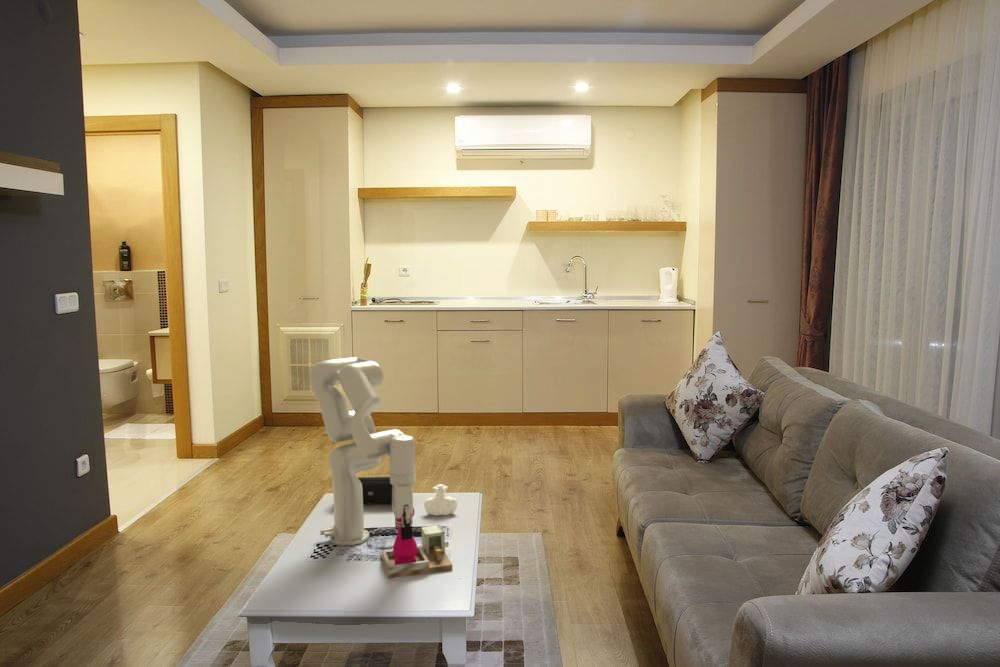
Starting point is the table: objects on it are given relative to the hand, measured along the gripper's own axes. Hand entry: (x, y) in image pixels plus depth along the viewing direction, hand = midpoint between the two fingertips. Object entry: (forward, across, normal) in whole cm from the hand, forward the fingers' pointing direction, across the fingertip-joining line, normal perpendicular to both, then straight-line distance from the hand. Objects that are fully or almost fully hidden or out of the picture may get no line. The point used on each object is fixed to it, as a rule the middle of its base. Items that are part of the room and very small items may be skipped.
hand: (403, 532), depth 213 cm
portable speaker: (+12, -59, -1) cm, 61 cm away
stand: (+11, -1, +4) cm, 11 cm away
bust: (+12, -40, +21) cm, 47 cm away
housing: (+9, -6, +10) cm, 15 cm away
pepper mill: (+9, +1, 0) cm, 9 cm away
